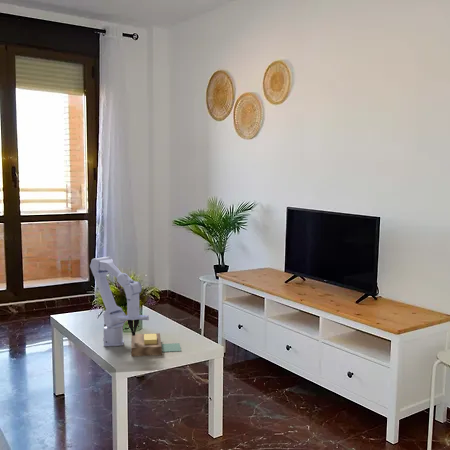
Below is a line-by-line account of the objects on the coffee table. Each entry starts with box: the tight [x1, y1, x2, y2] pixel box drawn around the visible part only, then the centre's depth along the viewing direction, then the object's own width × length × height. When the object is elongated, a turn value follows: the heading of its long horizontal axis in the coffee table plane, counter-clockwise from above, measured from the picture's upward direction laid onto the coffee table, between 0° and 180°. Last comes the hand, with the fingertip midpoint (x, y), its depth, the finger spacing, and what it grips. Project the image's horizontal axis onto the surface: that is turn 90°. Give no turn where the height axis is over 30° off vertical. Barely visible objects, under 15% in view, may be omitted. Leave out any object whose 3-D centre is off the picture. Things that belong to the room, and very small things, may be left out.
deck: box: [130, 332, 163, 357], centre depth 248 cm, size 14×20×4 cm
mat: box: [161, 342, 182, 353], centre depth 249 cm, size 9×11×1 cm
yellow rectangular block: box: [143, 333, 157, 344], centre depth 247 cm, size 6×9×2 cm, turn 10°
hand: (133, 335), depth 245 cm, fingers closed
